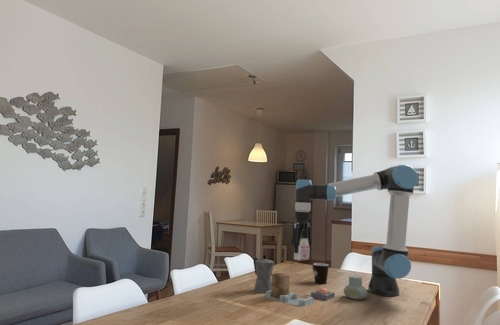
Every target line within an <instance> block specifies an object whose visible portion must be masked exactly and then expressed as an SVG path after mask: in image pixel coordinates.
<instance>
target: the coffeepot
mask: <svg viewBox="0 0 500 325" xmlns="http://www.w3.org/2000/svg"><path fill="white" fill-rule="evenodd" d="M274 264H275V261H273V260H270V259H267V255H266V254H264V255H262V259H261V258H259V257H255V258H254V259H253V267H254V274H255V275H256V280H255V283H254V287H253V288H254V289H253V290H254V292H255V293H259V294H266V291H270V290H271V287H272V274H273V270H274Z"/></svg>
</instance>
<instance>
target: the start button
mask: <svg viewBox="0 0 500 325" xmlns="http://www.w3.org/2000/svg"><path fill="white" fill-rule="evenodd" d="M318 290H319V291H318V293H320V294H327V291H328V288H325V287H319V288H318Z"/></svg>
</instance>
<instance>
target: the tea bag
mask: <svg viewBox="0 0 500 325" xmlns="http://www.w3.org/2000/svg"><path fill="white" fill-rule="evenodd" d="M299 246H300V260H298V261H310V254H311V253H310V249H311V248H310V245H309V243H308V238H303V237H301V240H300V244H299Z"/></svg>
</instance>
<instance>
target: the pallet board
mask: <svg viewBox="0 0 500 325" xmlns="http://www.w3.org/2000/svg"><path fill="white" fill-rule="evenodd" d="M263 298H264V299H268V300H273V301H276V302H280V303H285V304H288V305H291V306H297V307H300V308H304V307H307V306H309V305H311V304H314V303H316V302H317V301H316V300H314V298H313V297H311V295H310V296H307V297H306V298H303V297H299V294H298V293H294V292H292V291H289V294H288V295H285V296H284V295H280V298H276V297H272V296H271V290H270V291H266V293H265V295H264V296H263Z"/></svg>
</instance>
